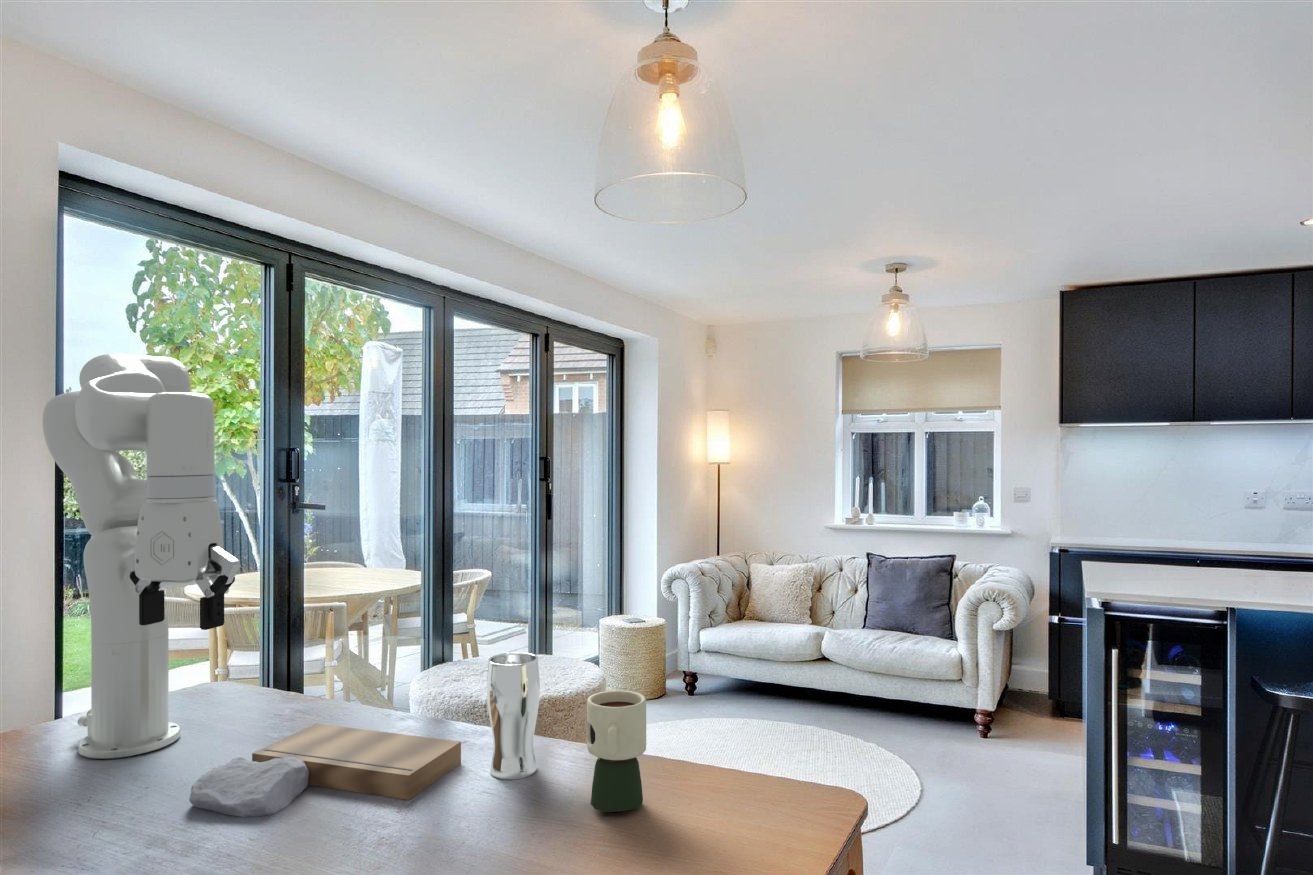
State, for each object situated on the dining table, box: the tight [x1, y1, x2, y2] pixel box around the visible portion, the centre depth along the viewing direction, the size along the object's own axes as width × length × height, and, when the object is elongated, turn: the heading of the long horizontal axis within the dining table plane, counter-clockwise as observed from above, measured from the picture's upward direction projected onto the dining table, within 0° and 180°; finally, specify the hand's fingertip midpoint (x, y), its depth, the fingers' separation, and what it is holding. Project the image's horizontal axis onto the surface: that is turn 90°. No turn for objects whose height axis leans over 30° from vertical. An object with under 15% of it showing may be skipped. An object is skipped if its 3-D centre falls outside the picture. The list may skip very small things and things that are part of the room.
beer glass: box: [486, 651, 541, 781], centre depth 110 cm, size 7×7×15 cm
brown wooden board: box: [251, 723, 462, 801], centre depth 111 cm, size 24×12×3 cm, turn 72°
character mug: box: [586, 689, 647, 813], centre depth 99 cm, size 11×7×13 cm, turn 177°
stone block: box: [188, 756, 309, 818], centre depth 102 cm, size 12×5×10 cm
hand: (181, 625), depth 105 cm, fingers open, 9 cm apart
